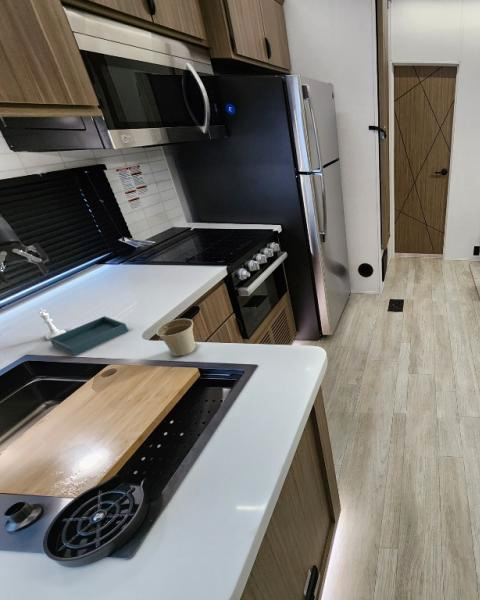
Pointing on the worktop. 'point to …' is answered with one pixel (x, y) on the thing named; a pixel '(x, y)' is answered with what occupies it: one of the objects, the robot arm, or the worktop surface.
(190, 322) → the flower pot
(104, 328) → the tray
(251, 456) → the worktop surface
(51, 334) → the chess piece
